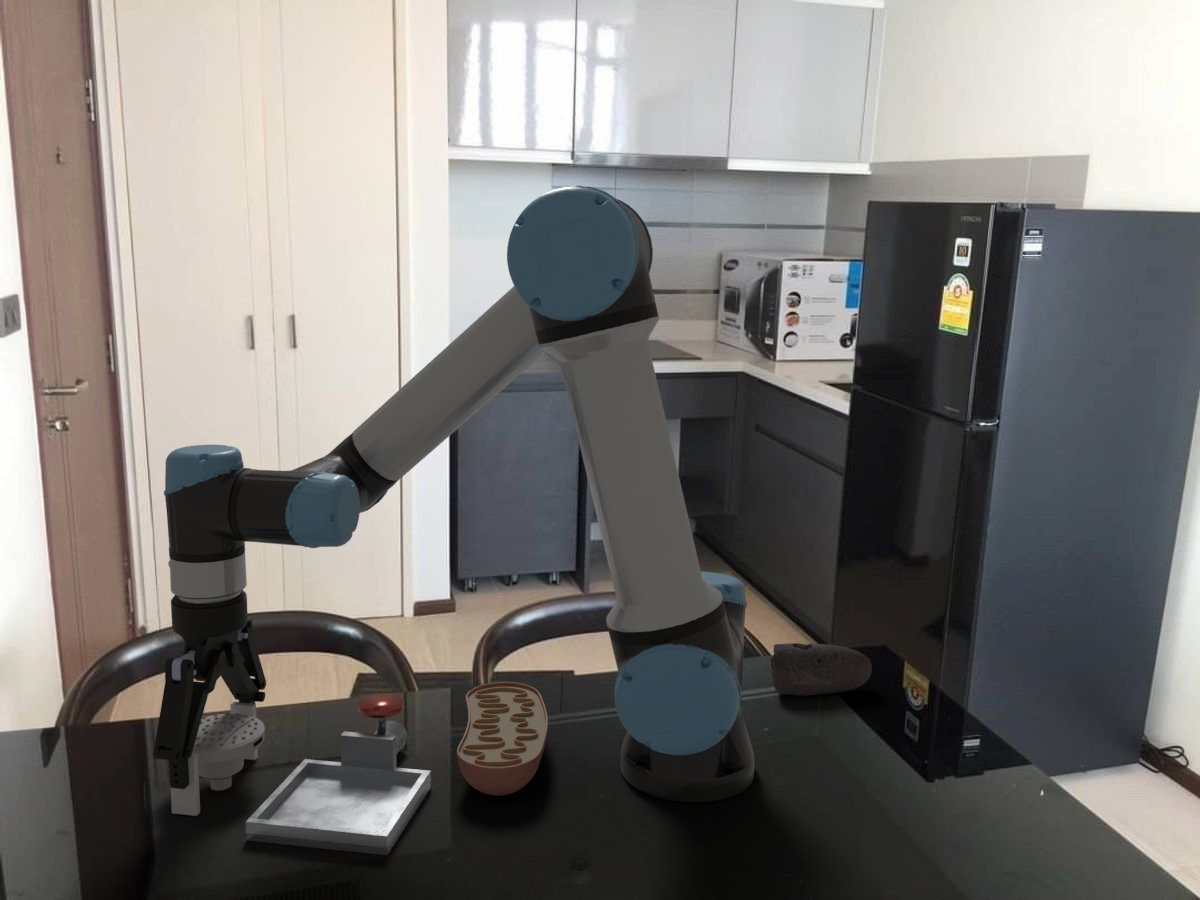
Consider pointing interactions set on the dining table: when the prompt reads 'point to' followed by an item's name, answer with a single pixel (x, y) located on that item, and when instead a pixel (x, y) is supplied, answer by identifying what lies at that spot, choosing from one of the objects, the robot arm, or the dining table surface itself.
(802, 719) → the dining table surface
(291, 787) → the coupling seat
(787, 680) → the perforated stone tool
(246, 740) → the showerhead
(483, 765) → the anatomical model
